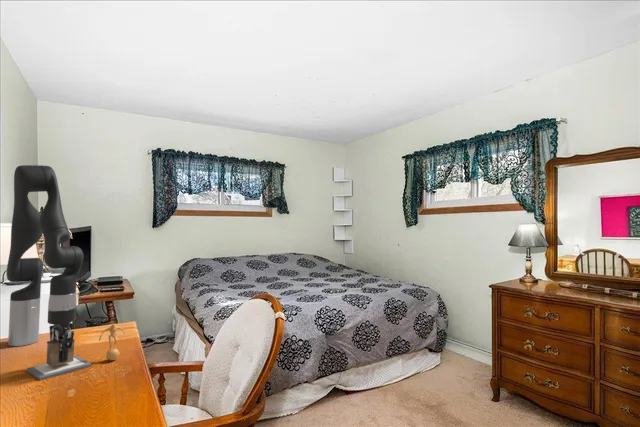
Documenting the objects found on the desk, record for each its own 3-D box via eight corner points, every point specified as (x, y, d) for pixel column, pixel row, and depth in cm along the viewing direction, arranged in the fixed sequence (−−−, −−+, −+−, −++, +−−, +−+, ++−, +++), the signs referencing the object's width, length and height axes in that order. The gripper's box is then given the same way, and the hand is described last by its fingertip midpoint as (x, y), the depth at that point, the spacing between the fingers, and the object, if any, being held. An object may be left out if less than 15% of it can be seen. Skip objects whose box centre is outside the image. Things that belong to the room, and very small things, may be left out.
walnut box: (45, 363, 115) (46, 341, 115) (68, 358, 120) (69, 336, 120) (51, 367, 112) (52, 344, 112) (73, 361, 117) (74, 339, 118)
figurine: (98, 364, 120) (100, 328, 120) (97, 359, 125) (99, 324, 125) (126, 359, 124) (128, 325, 125) (124, 354, 129) (125, 321, 130)
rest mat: (26, 370, 114) (27, 367, 114) (76, 357, 125) (76, 355, 125) (40, 380, 107) (40, 377, 107) (91, 366, 118) (91, 363, 118)
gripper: (40, 306, 118) (38, 358, 117) (57, 312, 110) (54, 368, 109) (67, 302, 124) (64, 352, 123) (84, 308, 116) (82, 361, 115)
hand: (60, 359), depth 116 cm, fingers closed on walnut box, 4 cm apart
